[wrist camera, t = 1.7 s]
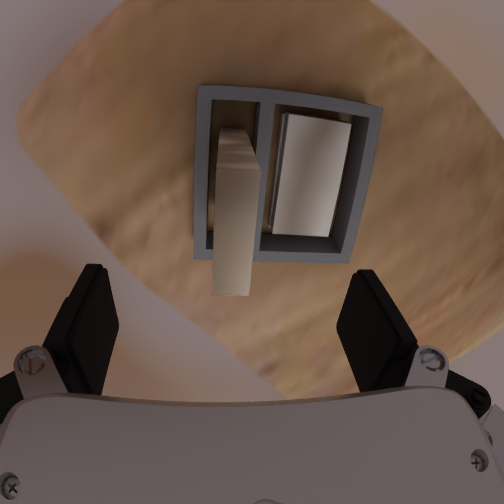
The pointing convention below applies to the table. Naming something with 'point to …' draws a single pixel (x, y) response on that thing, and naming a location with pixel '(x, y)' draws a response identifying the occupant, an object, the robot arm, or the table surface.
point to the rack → (267, 244)
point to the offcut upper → (308, 174)
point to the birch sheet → (234, 212)
